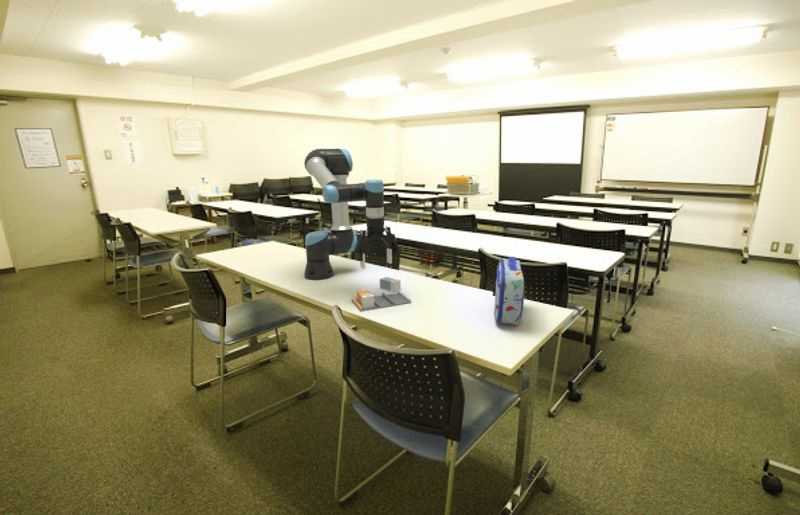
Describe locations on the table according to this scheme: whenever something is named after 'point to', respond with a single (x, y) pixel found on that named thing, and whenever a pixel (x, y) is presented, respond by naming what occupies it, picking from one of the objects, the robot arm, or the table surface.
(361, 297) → the orange and white block
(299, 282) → the table surface
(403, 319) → the table surface
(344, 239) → the robot arm
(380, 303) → the grey divided tray
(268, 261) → the table surface
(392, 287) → the grey block
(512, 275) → the lunch box
